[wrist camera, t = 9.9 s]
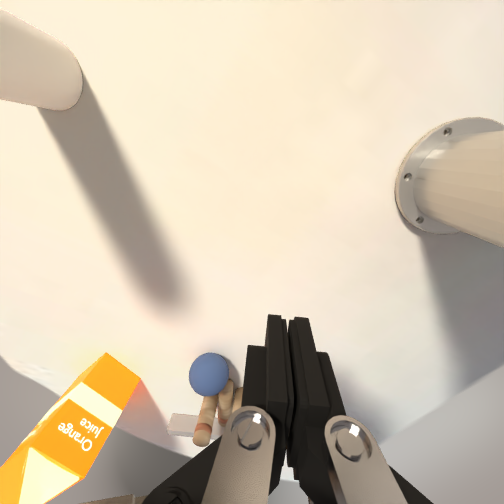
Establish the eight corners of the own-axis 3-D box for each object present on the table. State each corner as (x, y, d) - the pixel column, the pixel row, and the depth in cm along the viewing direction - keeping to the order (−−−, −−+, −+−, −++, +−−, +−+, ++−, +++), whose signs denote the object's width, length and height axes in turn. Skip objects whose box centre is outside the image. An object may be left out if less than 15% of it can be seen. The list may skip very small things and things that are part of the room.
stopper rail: (280, 424, 46) (281, 442, 43) (280, 429, 47) (280, 446, 44) (172, 413, 47) (166, 429, 44) (173, 417, 47) (167, 434, 44)
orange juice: (141, 378, 44) (49, 542, 26) (112, 401, 47) (9, 565, 28) (105, 351, 42) (-23, 506, 24) (77, 376, 45) (-59, 533, 26)
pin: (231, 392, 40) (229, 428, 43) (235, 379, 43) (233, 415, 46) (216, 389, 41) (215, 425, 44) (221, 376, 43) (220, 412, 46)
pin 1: (220, 384, 43) (209, 436, 36) (220, 395, 44) (209, 447, 36) (206, 383, 44) (192, 434, 36) (205, 393, 44) (192, 446, 37)
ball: (224, 397, 40) (241, 363, 40) (205, 411, 35) (225, 371, 35) (196, 375, 42) (212, 343, 43) (174, 385, 37) (192, 348, 37)
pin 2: (249, 387, 43) (245, 440, 35) (248, 398, 44) (244, 451, 36) (234, 386, 43) (227, 438, 35) (234, 396, 44) (226, 449, 36)
